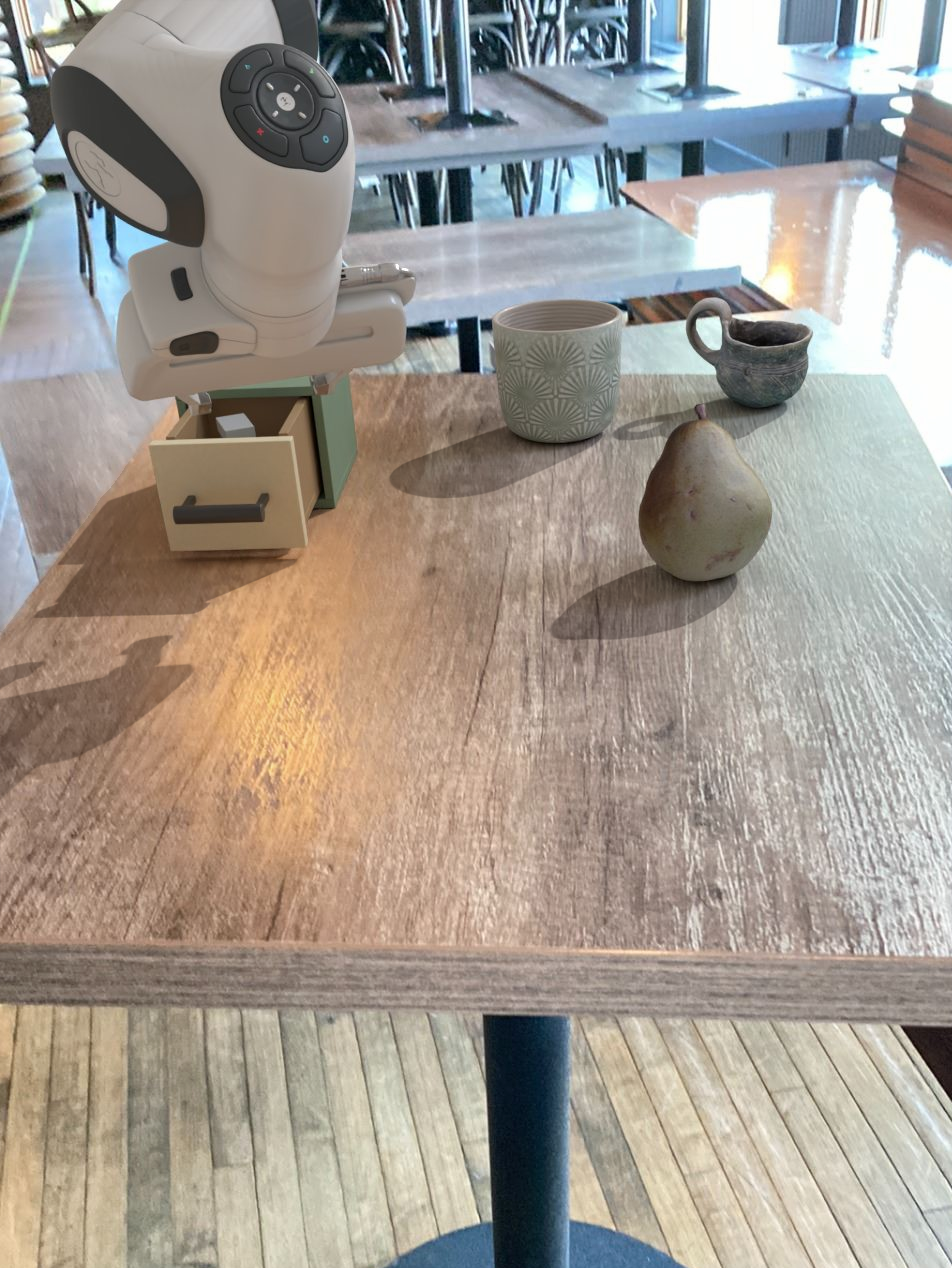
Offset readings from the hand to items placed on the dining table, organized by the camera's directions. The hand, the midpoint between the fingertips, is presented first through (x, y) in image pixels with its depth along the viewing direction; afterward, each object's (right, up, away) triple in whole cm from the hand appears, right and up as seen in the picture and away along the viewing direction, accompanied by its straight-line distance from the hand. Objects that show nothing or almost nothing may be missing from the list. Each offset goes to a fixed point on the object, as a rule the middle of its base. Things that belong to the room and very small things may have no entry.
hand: (260, 396), depth 100 cm
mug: (+43, +13, +37) cm, 58 cm away
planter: (+24, +9, +32) cm, 41 cm away
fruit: (+34, -12, +4) cm, 37 cm away
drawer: (-3, -6, +13) cm, 15 cm away
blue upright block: (-3, -5, +13) cm, 14 cm away
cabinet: (-3, +1, +25) cm, 25 cm away
